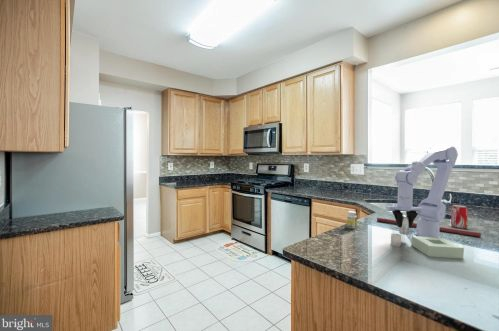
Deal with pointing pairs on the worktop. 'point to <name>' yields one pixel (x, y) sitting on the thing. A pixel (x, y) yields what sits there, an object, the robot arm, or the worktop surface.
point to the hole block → (437, 247)
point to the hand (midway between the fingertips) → (404, 227)
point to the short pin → (396, 240)
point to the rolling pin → (440, 228)
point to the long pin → (404, 225)
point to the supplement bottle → (351, 219)
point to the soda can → (459, 216)
